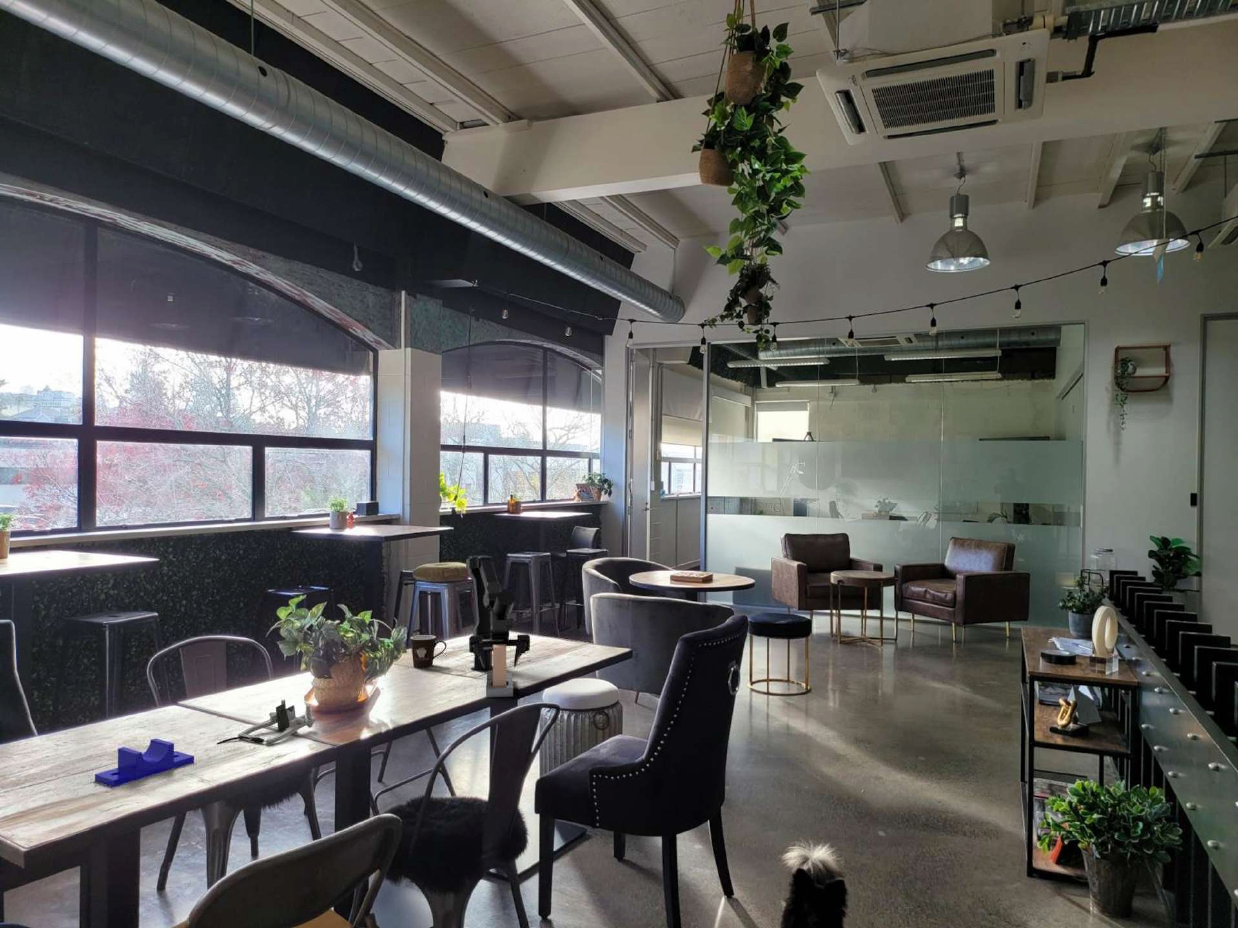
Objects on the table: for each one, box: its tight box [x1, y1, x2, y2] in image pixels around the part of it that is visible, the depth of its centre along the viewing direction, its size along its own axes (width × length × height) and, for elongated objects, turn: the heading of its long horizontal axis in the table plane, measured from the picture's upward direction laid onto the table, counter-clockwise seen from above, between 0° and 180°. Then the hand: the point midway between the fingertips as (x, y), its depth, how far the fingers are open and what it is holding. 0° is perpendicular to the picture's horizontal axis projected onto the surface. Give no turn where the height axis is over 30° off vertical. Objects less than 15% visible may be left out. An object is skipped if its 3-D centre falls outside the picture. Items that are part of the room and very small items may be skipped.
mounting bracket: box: [94, 738, 195, 788], centre depth 185 cm, size 18×7×6 cm, turn 149°
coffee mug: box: [410, 634, 447, 669], centre depth 288 cm, size 12×9×10 cm
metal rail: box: [485, 672, 514, 698], centre depth 258 cm, size 20×8×2 cm, turn 8°
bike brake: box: [216, 699, 316, 746], centre depth 209 cm, size 14×7×20 cm
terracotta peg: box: [492, 644, 507, 686], centre depth 254 cm, size 4×4×14 cm
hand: (499, 666), depth 253 cm, fingers open, 9 cm apart
